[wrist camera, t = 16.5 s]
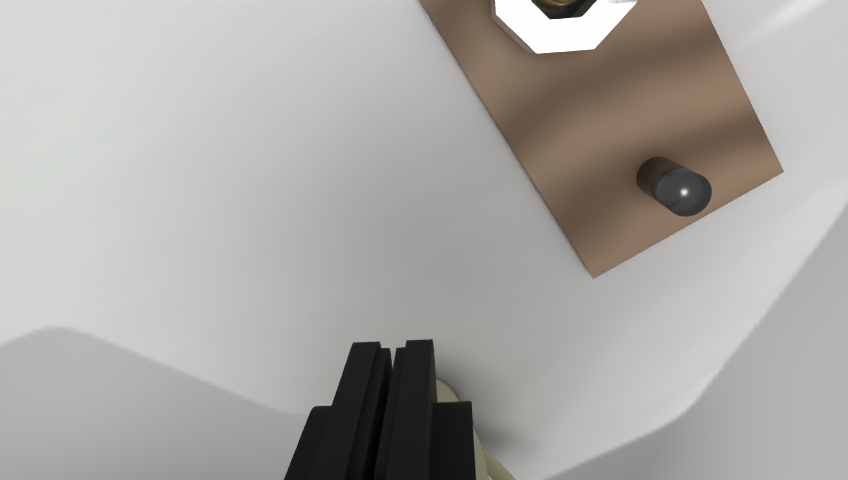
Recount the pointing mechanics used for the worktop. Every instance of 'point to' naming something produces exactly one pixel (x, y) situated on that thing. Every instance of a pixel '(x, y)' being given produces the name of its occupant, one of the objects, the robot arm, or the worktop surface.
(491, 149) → the worktop surface
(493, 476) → the mug
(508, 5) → the white octagonal block
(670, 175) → the stand rod
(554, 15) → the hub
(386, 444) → the robot arm
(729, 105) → the base board
